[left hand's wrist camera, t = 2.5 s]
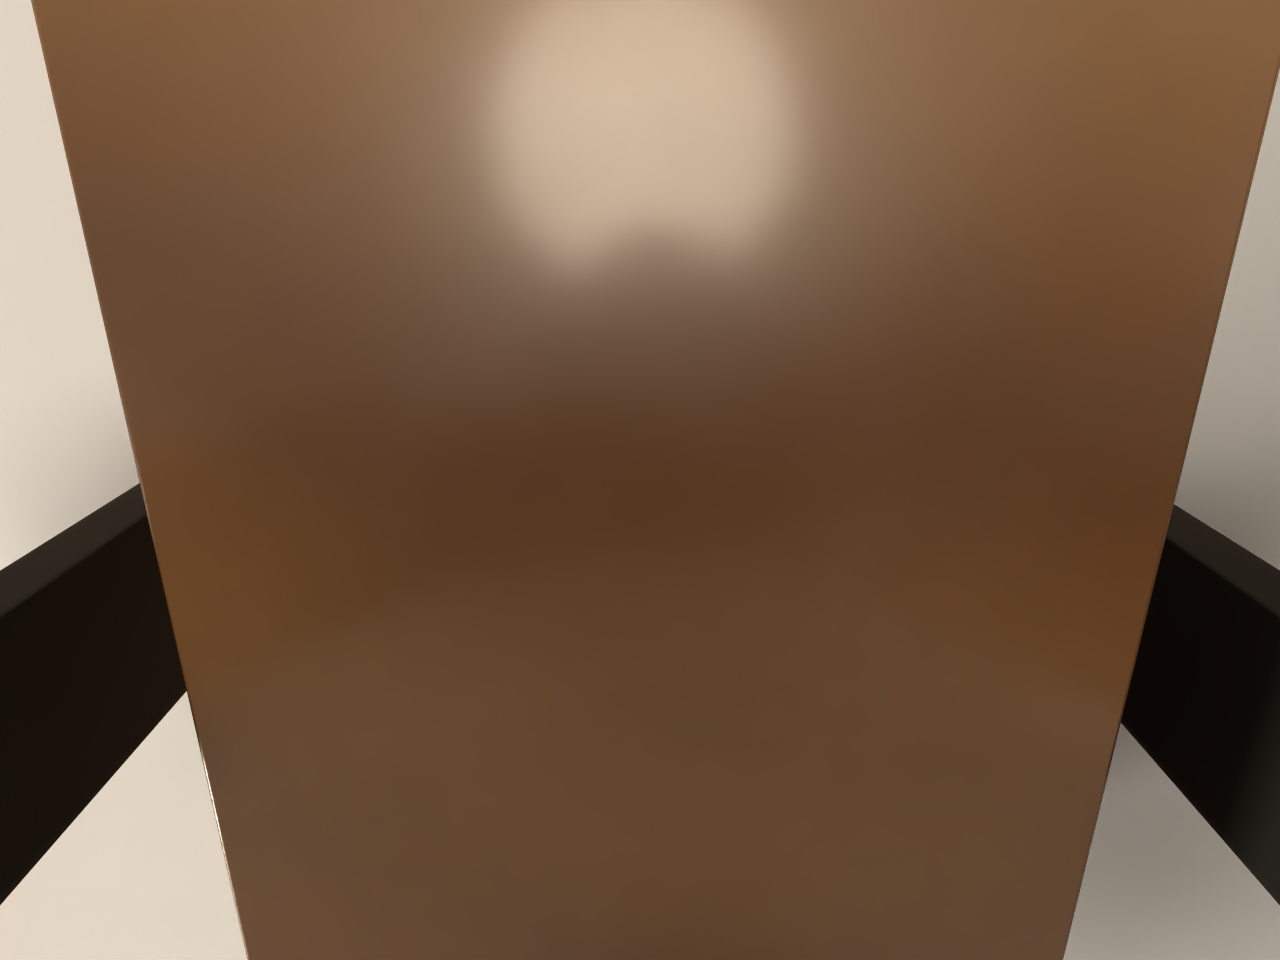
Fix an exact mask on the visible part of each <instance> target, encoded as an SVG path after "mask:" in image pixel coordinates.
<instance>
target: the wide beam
mask: <svg viewBox="0 0 1280 960" xmlns="http://www.w3.org/2000/svg"><path fill="white" fill-rule="evenodd" d="M31 2H32V6H33V11H34V15H35V20H36V24H37V29H38V33H39V37H40V42H41V46H42V51H43V55H44V60H45V64H46V69H47V73H48V77H49V82H50V86H51V91H52V95H53V100H54V104H55V108H56V113H57V117H58V122H59V126H60V131H61V135H62V139H63V144H64V148H65V153H66V157H67V162H68V166H69V170H70V175H71V179H72V184H73V188H74V193H75V197H76V201H77V206H78V210H79V215H80V219H81V224H82V228H83V233H84V237H85V241H86V246H87V250H88V255H89V259H90V264H91V268H92V272H93V277H94V281H95V286H96V290H97V295H98V299H99V303H100V308H101V312H102V317H103V321H104V326H105V330H106V334H107V339H108V343H109V348H110V352H111V357H112V361H113V366H114V370H115V374H116V379H117V383H118V388H119V392H120V397H121V401H122V405H123V410H124V414H125V419H126V423H127V428H128V432H129V436H130V441H131V445H132V450H133V454H134V459H135V463H136V467H137V472H138V476H139V481H140V485H141V490H142V494H143V498H144V503H145V507H146V512H147V516H148V521H149V525H150V530H151V534H152V538H153V543H154V547H155V552H156V556H157V561H158V565H159V569H160V574H161V578H162V583H163V587H164V592H165V596H166V600H167V605H168V609H169V614H170V618H171V623H172V627H173V631H174V636H175V640H176V645H177V649H178V654H179V658H180V662H181V667H182V671H183V676H184V680H185V685H186V689H187V694H188V698H189V702H190V707H191V711H192V716H193V720H194V725H195V729H196V733H197V738H198V742H199V747H200V751H201V756H202V760H203V764H204V769H205V773H206V778H207V782H208V787H209V791H210V795H211V800H212V804H213V809H214V813H215V818H216V822H217V827H218V831H219V835H220V840H221V844H222V849H223V853H224V858H225V862H226V866H227V871H228V875H229V880H230V884H231V889H232V893H233V897H234V902H235V906H236V911H237V915H238V920H239V924H240V928H241V933H242V937H243V942H244V946H245V951H246V955H247V959H248V960H1063V957H1064V953H1065V949H1066V945H1067V941H1068V937H1069V933H1070V929H1071V925H1072V920H1073V916H1074V912H1075V908H1076V904H1077V900H1078V896H1079V892H1080V887H1081V883H1082V879H1083V875H1084V871H1085V867H1086V863H1087V859H1088V855H1089V850H1090V846H1091V842H1092V838H1093V834H1094V830H1095V826H1096V822H1097V818H1098V813H1099V809H1100V805H1101V801H1102V797H1103V793H1104V789H1105V785H1106V781H1107V776H1108V772H1109V768H1110V764H1111V760H1112V756H1113V752H1114V748H1115V743H1116V739H1117V735H1118V731H1119V727H1120V723H1121V719H1122V715H1123V711H1124V706H1125V702H1126V698H1127V694H1128V690H1129V686H1130V682H1131V678H1132V674H1133V669H1134V665H1135V661H1136V657H1137V653H1138V649H1139V645H1140V641H1141V637H1142V632H1143V628H1144V624H1145V620H1146V616H1147V612H1148V608H1149V604H1150V600H1151V595H1152V591H1153V587H1154V583H1155V579H1156V575H1157V571H1158V567H1159V562H1160V558H1161V554H1162V550H1163V546H1164V542H1165V538H1166V534H1167V530H1168V525H1169V521H1170V517H1171V513H1172V509H1173V505H1174V501H1175V497H1176V493H1177V488H1178V484H1179V480H1180V476H1181V472H1182V468H1183V464H1184V460H1185V456H1186V451H1187V447H1188V443H1189V439H1190V435H1191V431H1192V427H1193V423H1194V419H1195V414H1196V410H1197V406H1198V402H1199V398H1200V394H1201V390H1202V386H1203V381H1204V377H1205V373H1206V369H1207V365H1208V361H1209V357H1210V353H1211V349H1212V344H1213V340H1214V336H1215V332H1216V328H1217V324H1218V320H1219V316H1220V312H1221V307H1222V303H1223V299H1224V295H1225V291H1226V287H1227V283H1228V279H1229V275H1230V270H1231V266H1232V262H1233V258H1234V254H1235V250H1236V246H1237V242H1238V238H1239V233H1240V229H1241V225H1242V221H1243V217H1244V213H1245V209H1246V205H1247V200H1248V196H1249V192H1250V188H1251V184H1252V180H1253V176H1254V172H1255V168H1256V163H1257V159H1258V155H1259V151H1260V147H1261V143H1262V139H1263V135H1264V131H1265V126H1266V122H1267V118H1268V114H1269V110H1270V106H1271V102H1272V98H1273V94H1274V89H1275V85H1276V81H1277V77H1278V73H1279V69H1280V0H31Z"/></svg>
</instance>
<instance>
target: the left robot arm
mask: <svg viewBox="0 0 1280 960" xmlns="http://www.w3.org/2000/svg"><path fill="white" fill-rule="evenodd" d="M186 691H187V689H186V685H185V680H184V676H183V671H182V667H181V662H180V658H179V654H178V649H177V645H176V640H175V636H174V631H173V627H172V623H171V618H170V614H169V609H168V605H167V600H166V596H165V592H164V587H163V583H162V578H161V574H160V569H159V565H158V561H157V556H156V552H155V547H154V543H153V538H152V534H151V530H150V525H149V521H148V516H147V512H146V507H145V503H144V498H143V494H142V490H141V485H140V483H139V484H138V485H136V486H135V487H133V488H131V489H130V490H128V491H127V492H125V493H123V494H122V495H120V496H119V497H117V498H115V499H114V500H112V501H111V502H109V503H107V504H106V505H104V506H103V507H101V508H99V509H98V510H96V511H95V512H93V513H91V514H90V515H88V516H87V517H85V518H84V519H82V520H80V521H79V522H77V523H76V524H74V525H72V526H71V527H69V528H68V529H66V530H64V531H63V532H61V533H60V534H58V535H56V536H55V537H53V538H52V539H50V540H48V541H47V542H45V543H44V544H42V545H40V546H39V547H37V548H36V549H34V550H33V551H31V552H29V553H28V554H26V555H25V556H23V557H21V558H20V559H18V560H17V561H15V562H13V563H12V564H10V565H9V566H7V567H5V568H4V569H2V570H1V571H0V905H1V904H2V902H3V901H4V900H5V899H6V898H7V897H8V896H9V894H10V893H11V892H12V891H13V890H14V889H15V888H16V886H17V885H18V884H19V883H20V882H21V881H22V879H23V878H24V877H25V876H26V875H27V874H28V873H29V871H30V870H31V869H32V868H33V867H34V866H35V865H36V863H37V862H38V861H39V860H40V859H41V858H42V856H43V855H44V854H45V853H46V852H47V851H48V850H49V848H50V847H51V846H52V845H53V844H54V843H55V842H56V840H57V839H58V838H59V837H60V836H61V835H62V833H63V832H64V831H65V830H66V829H67V828H68V827H69V825H70V824H71V823H72V822H73V821H74V820H75V819H76V817H77V816H78V815H79V814H80V813H81V812H82V810H83V809H84V808H85V807H86V806H87V805H88V804H89V802H90V801H91V800H92V799H93V798H94V797H95V796H96V794H97V793H98V792H99V791H100V790H101V789H102V787H103V786H104V785H105V784H106V783H107V782H108V781H109V779H110V778H111V777H112V776H113V775H114V774H115V773H116V771H117V770H118V769H119V768H120V767H121V766H122V764H123V763H124V762H125V761H126V760H127V759H128V758H129V756H130V755H131V754H132V753H133V752H134V751H135V750H136V748H137V747H138V746H139V745H140V744H141V743H142V741H143V740H144V739H145V738H146V737H147V736H148V735H149V733H150V732H151V731H152V730H153V729H154V728H155V727H156V725H157V724H158V723H159V722H160V721H161V720H162V718H163V717H164V716H165V715H166V714H167V713H168V712H169V710H170V709H171V708H172V707H173V706H174V705H175V704H176V702H177V701H178V700H179V699H180V698H181V697H182V695H183V694H184V693H185V692H186ZM1121 723H1122V724H1123V725H1124V727H1125V728H1126V729H1127V730H1128V731H1129V732H1130V733H1131V735H1132V736H1133V737H1134V738H1135V739H1136V740H1137V741H1138V743H1139V744H1140V745H1141V746H1142V747H1143V748H1144V750H1145V751H1146V752H1147V753H1148V754H1149V755H1150V756H1151V758H1152V759H1153V760H1154V761H1155V762H1156V763H1157V764H1158V766H1159V767H1160V768H1161V769H1162V770H1163V771H1164V773H1165V774H1166V775H1167V776H1168V777H1169V778H1170V779H1171V781H1172V782H1173V783H1174V784H1175V785H1176V786H1177V787H1178V789H1179V790H1180V791H1181V792H1182V793H1183V794H1184V796H1185V797H1186V798H1187V799H1188V800H1189V801H1190V802H1191V804H1192V805H1193V806H1194V807H1195V808H1196V809H1197V810H1198V812H1199V813H1200V814H1201V815H1202V816H1203V817H1204V819H1205V820H1206V821H1207V822H1208V823H1209V824H1210V825H1211V827H1212V828H1213V829H1214V830H1215V831H1216V832H1217V833H1218V835H1219V836H1220V837H1221V838H1222V839H1223V840H1224V842H1225V843H1226V844H1227V845H1228V846H1229V847H1230V848H1231V850H1232V851H1233V852H1234V853H1235V854H1236V855H1237V856H1238V858H1239V859H1240V860H1241V861H1242V862H1243V863H1244V865H1245V866H1246V867H1247V868H1248V869H1249V870H1250V871H1251V873H1252V874H1253V875H1254V876H1255V877H1256V878H1257V879H1258V881H1259V882H1260V883H1261V884H1262V885H1263V886H1264V888H1265V889H1266V890H1267V891H1268V892H1269V893H1270V894H1271V896H1272V897H1273V898H1274V899H1275V900H1276V901H1277V902H1278V904H1279V905H1280V571H1279V570H1278V569H1276V568H1275V567H1273V566H1271V565H1270V564H1268V563H1267V562H1265V561H1263V560H1262V559H1260V558H1259V557H1257V556H1255V555H1254V554H1252V553H1251V552H1249V551H1247V550H1246V549H1244V548H1243V547H1241V546H1240V545H1238V544H1236V543H1235V542H1233V541H1232V540H1230V539H1228V538H1227V537H1225V536H1224V535H1222V534H1220V533H1219V532H1217V531H1216V530H1214V529H1212V528H1211V527H1209V526H1208V525H1206V524H1204V523H1203V522H1201V521H1200V520H1198V519H1196V518H1195V517H1193V516H1192V515H1190V514H1189V513H1187V512H1185V511H1184V510H1182V509H1181V508H1179V507H1177V506H1176V505H1173V509H1172V513H1171V517H1170V521H1169V525H1168V530H1167V534H1166V538H1165V542H1164V546H1163V550H1162V554H1161V558H1160V562H1159V567H1158V571H1157V575H1156V579H1155V583H1154V587H1153V591H1152V595H1151V600H1150V604H1149V608H1148V612H1147V616H1146V620H1145V624H1144V628H1143V632H1142V637H1141V641H1140V645H1139V649H1138V653H1137V657H1136V661H1135V665H1134V669H1133V674H1132V678H1131V682H1130V686H1129V690H1128V694H1127V698H1126V702H1125V706H1124V711H1123V715H1122V719H1121Z"/></svg>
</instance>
